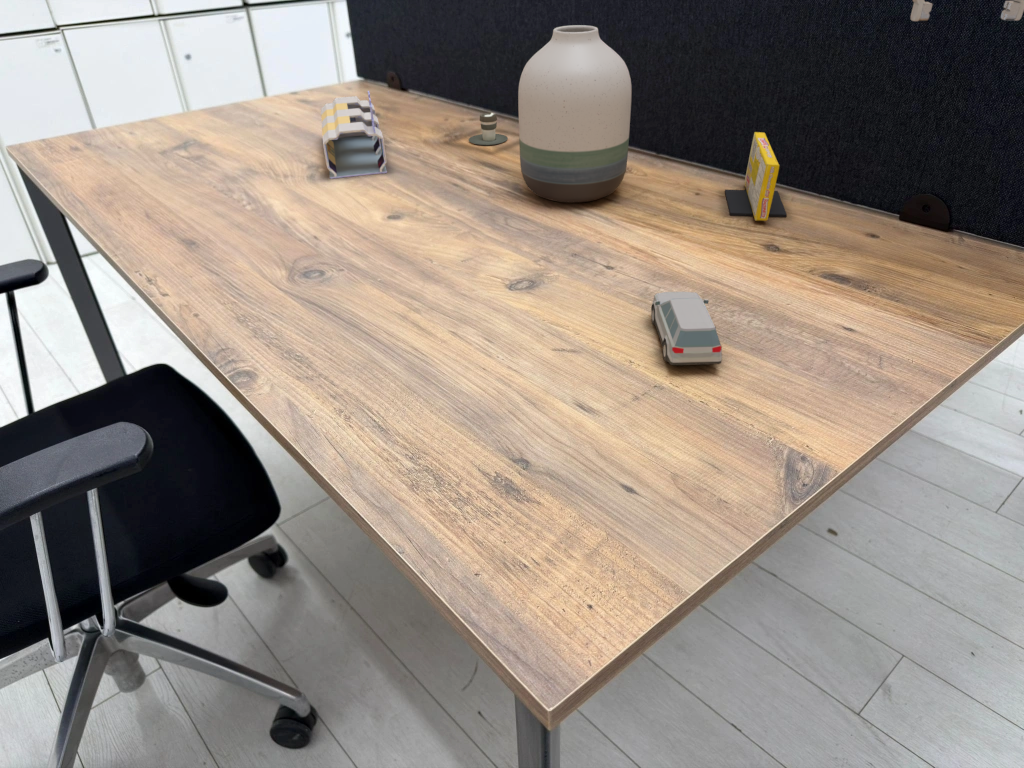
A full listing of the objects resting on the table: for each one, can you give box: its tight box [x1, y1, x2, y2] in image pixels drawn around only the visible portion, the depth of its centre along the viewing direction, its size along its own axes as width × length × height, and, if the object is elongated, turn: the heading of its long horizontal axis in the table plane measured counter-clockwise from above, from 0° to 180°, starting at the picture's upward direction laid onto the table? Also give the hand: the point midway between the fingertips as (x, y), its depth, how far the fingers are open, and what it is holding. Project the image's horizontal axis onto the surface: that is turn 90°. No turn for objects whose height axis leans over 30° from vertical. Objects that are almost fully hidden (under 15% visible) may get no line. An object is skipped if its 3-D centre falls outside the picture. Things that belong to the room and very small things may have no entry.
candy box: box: [743, 131, 781, 222], centre depth 107 cm, size 16×2×8 cm, turn 171°
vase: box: [517, 24, 633, 204], centre depth 110 cm, size 17×17×24 cm
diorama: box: [320, 90, 388, 179], centre depth 133 cm, size 25×10×13 cm, turn 13°
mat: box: [724, 189, 788, 218], centre depth 110 cm, size 8×10×1 cm
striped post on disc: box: [468, 112, 509, 146], centre depth 141 cm, size 12×12×5 cm
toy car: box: [650, 291, 723, 366], centre depth 76 cm, size 6×13×5 cm, turn 0°
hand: (963, 20), depth 81 cm, fingers open, 8 cm apart
